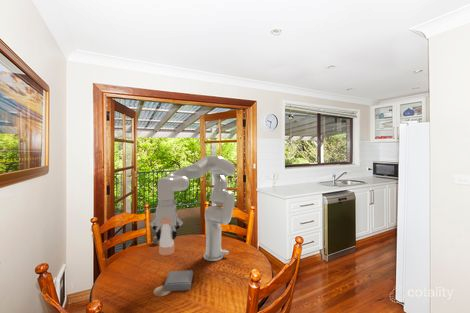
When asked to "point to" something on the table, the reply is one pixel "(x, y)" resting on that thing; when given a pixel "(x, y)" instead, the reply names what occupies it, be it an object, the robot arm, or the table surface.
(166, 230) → the pepper shaker
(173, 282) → the slate stand
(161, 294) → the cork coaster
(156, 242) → the grey cube
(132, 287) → the table surface
